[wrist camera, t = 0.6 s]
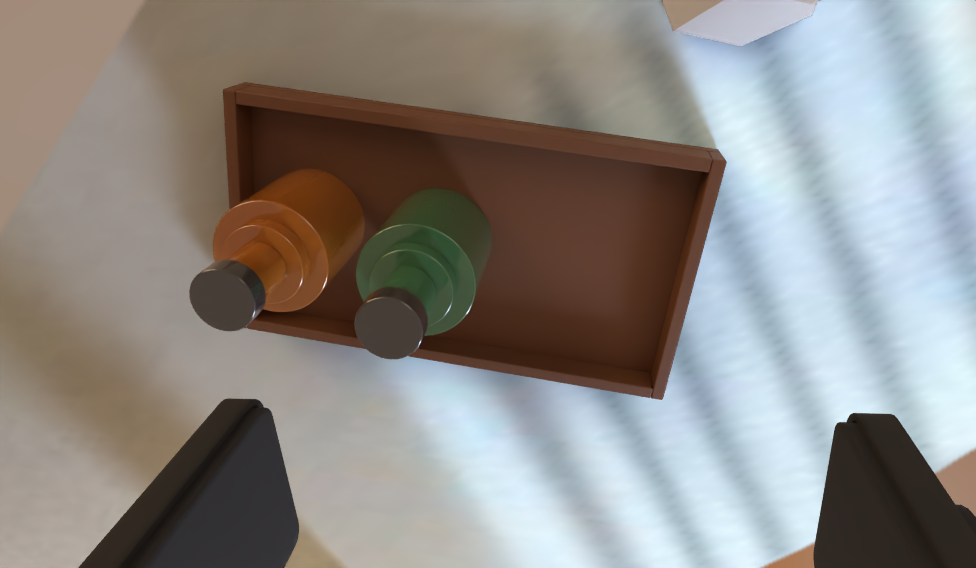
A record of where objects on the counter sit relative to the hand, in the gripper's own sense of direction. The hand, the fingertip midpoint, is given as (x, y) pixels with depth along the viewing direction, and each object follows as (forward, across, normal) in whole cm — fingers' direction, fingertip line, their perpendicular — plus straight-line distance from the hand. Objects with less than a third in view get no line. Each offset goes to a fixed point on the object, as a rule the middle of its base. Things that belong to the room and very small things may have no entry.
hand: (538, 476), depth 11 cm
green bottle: (+22, +7, +4) cm, 23 cm away
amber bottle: (+22, +13, +3) cm, 25 cm away
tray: (+22, +6, +4) cm, 23 cm away
